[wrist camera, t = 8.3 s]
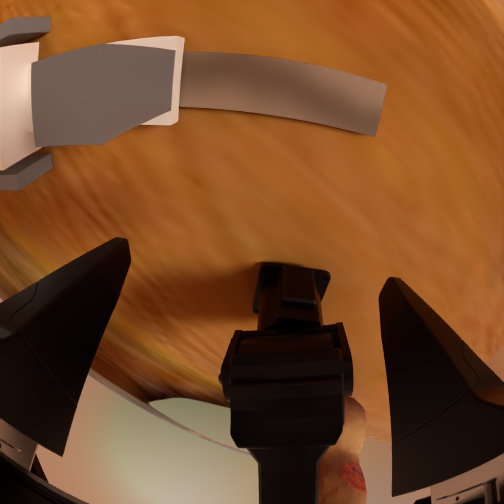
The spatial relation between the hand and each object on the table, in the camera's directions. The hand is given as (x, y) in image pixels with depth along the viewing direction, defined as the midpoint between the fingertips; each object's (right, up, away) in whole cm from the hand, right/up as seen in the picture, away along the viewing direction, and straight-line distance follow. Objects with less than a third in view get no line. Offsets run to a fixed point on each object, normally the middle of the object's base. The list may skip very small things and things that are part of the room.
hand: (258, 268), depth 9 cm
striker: (-12, +13, +6) cm, 19 cm away
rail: (+1, +12, +7) cm, 14 cm away
